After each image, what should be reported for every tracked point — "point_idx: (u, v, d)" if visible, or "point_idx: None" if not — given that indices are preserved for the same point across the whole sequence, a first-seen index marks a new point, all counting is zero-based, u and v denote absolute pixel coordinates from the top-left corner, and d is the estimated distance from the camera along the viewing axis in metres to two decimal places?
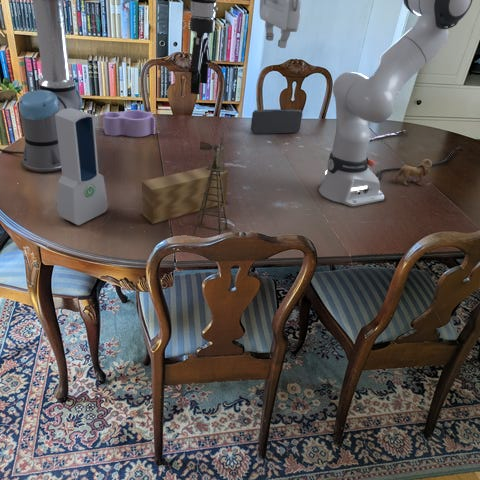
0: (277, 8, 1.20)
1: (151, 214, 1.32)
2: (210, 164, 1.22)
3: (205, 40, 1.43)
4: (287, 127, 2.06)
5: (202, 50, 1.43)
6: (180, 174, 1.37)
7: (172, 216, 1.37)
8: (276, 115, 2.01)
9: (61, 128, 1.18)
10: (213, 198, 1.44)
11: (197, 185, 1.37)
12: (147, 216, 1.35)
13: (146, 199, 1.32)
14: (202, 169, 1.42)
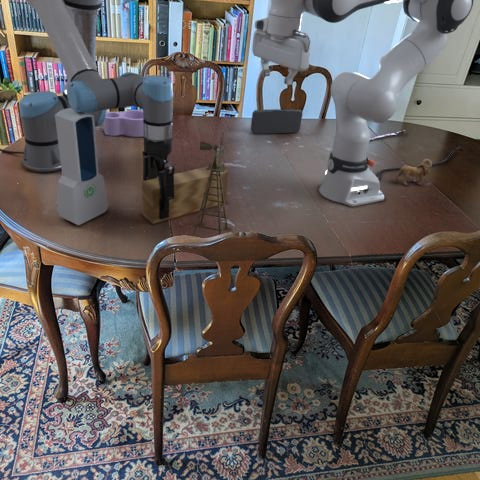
0: (282, 48, 1.25)
1: (151, 214, 1.32)
2: (210, 164, 1.22)
3: None
4: (287, 127, 2.06)
5: None
6: (180, 174, 1.37)
7: (172, 216, 1.37)
8: (276, 115, 2.01)
9: (61, 128, 1.18)
10: (213, 198, 1.44)
11: (197, 185, 1.37)
12: (147, 216, 1.35)
13: (146, 199, 1.32)
14: (202, 169, 1.42)
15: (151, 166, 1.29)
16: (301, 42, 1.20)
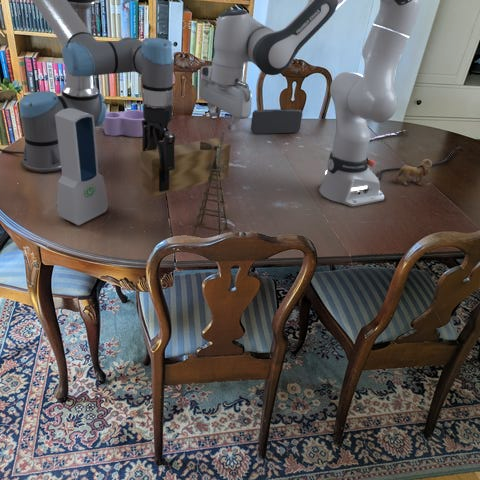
0: (225, 95, 1.28)
1: (150, 186, 1.28)
2: (210, 164, 1.22)
3: None
4: (287, 127, 2.06)
5: None
6: (181, 146, 1.33)
7: (172, 189, 1.32)
8: (276, 115, 2.01)
9: (61, 128, 1.18)
10: (215, 172, 1.39)
11: (198, 157, 1.32)
12: (146, 189, 1.30)
13: (145, 170, 1.28)
14: (204, 141, 1.37)
15: (151, 135, 1.24)
16: (242, 92, 1.22)
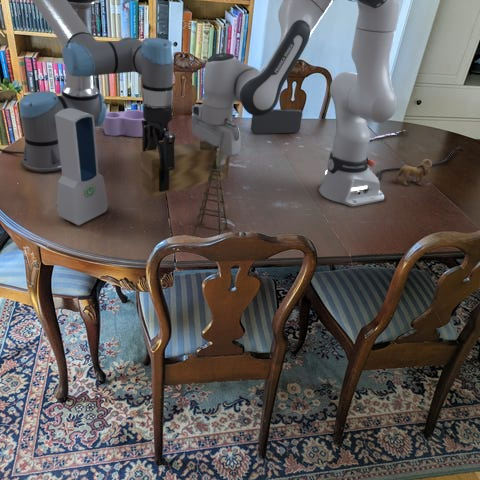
0: (216, 134, 1.33)
1: (150, 186, 1.28)
2: (210, 164, 1.22)
3: None
4: (287, 127, 2.06)
5: None
6: (181, 146, 1.33)
7: (172, 189, 1.32)
8: (276, 115, 2.01)
9: (61, 128, 1.18)
10: (215, 172, 1.39)
11: (198, 157, 1.32)
12: (146, 189, 1.30)
13: (145, 170, 1.28)
14: (204, 141, 1.37)
15: (151, 135, 1.24)
16: (231, 132, 1.28)
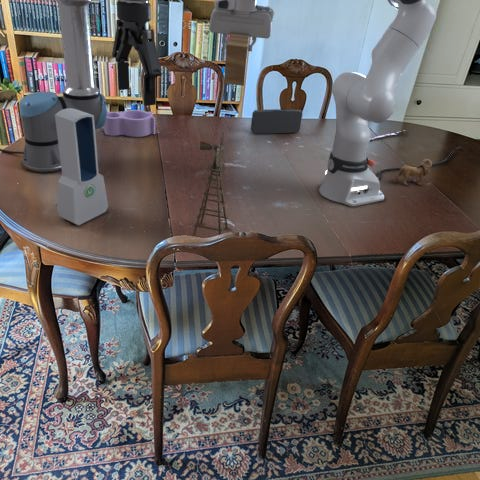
0: (247, 22, 1.49)
1: (242, 75, 1.38)
2: (210, 164, 1.22)
3: None
4: (287, 127, 2.06)
5: None
6: (232, 37, 1.44)
7: None
8: (276, 115, 2.01)
9: (61, 128, 1.18)
10: None
11: None
12: (234, 81, 1.39)
13: (233, 62, 1.36)
14: (233, 33, 1.50)
15: (125, 40, 1.08)
16: (268, 14, 1.48)
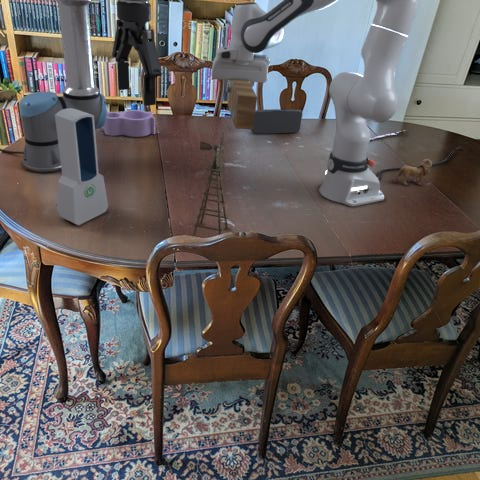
0: (246, 69, 1.65)
1: (252, 121, 1.54)
2: (210, 164, 1.22)
3: None
4: (287, 127, 2.06)
5: None
6: (237, 85, 1.59)
7: None
8: (276, 115, 2.01)
9: (61, 128, 1.18)
10: None
11: None
12: (244, 126, 1.54)
13: (244, 110, 1.51)
14: (234, 79, 1.65)
15: (125, 40, 1.08)
16: (265, 62, 1.65)
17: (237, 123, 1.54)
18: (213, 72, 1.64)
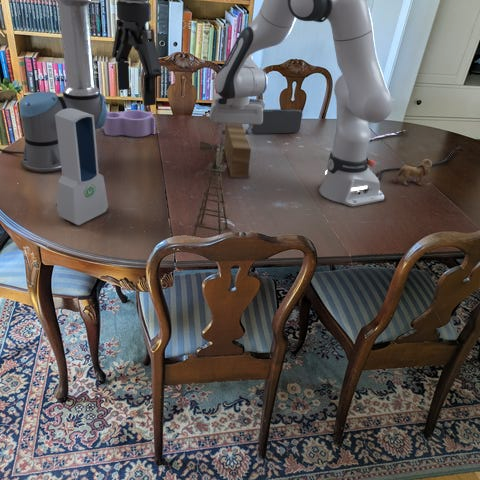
0: (243, 112, 1.74)
1: (246, 170, 1.63)
2: (210, 164, 1.22)
3: None
4: (287, 127, 2.06)
5: None
6: (232, 135, 1.68)
7: None
8: (276, 115, 2.01)
9: (61, 128, 1.18)
10: None
11: None
12: (239, 175, 1.64)
13: (239, 161, 1.61)
14: (230, 127, 1.75)
15: (125, 40, 1.08)
16: (260, 106, 1.73)
17: (232, 172, 1.63)
18: (211, 116, 1.73)
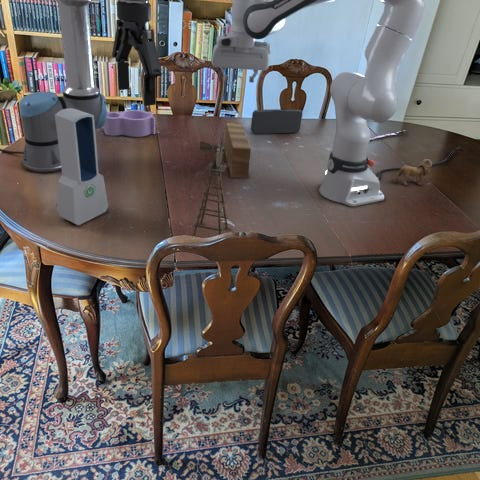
0: (247, 56, 1.63)
1: (246, 170, 1.63)
2: (210, 164, 1.22)
3: None
4: (287, 127, 2.06)
5: None
6: (233, 135, 1.68)
7: None
8: (276, 115, 2.01)
9: (61, 128, 1.18)
10: None
11: None
12: (239, 175, 1.64)
13: (239, 161, 1.61)
14: (230, 127, 1.75)
15: (125, 40, 1.08)
16: (266, 49, 1.62)
17: (232, 172, 1.63)
18: (213, 60, 1.62)
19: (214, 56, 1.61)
